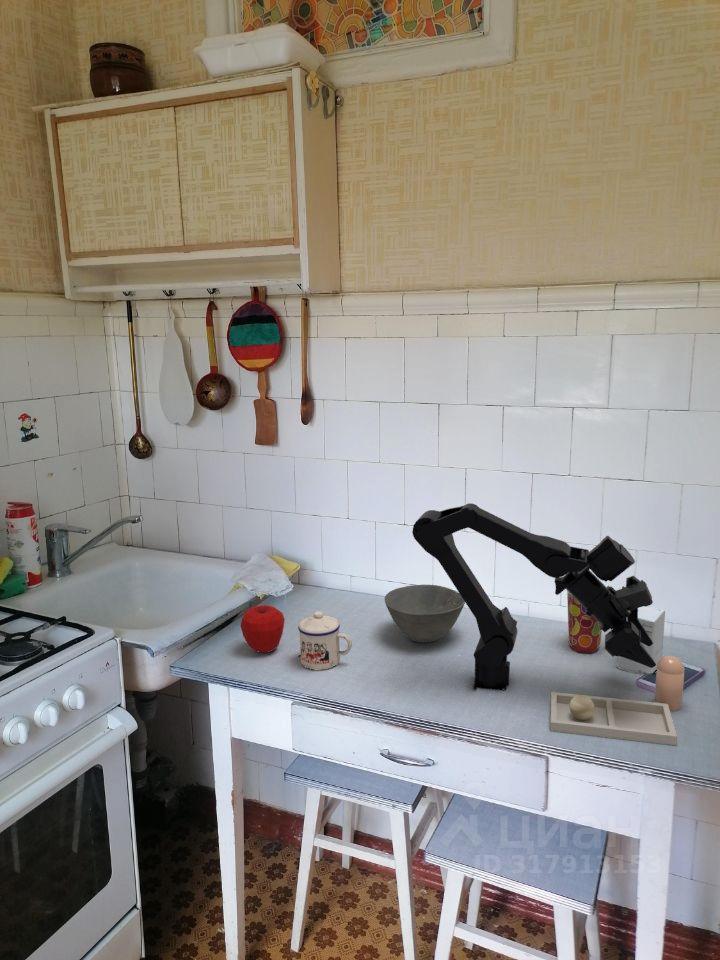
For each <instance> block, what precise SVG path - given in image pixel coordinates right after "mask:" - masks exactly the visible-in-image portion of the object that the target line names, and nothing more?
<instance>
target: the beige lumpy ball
mask: <svg viewBox="0 0 720 960" xmlns="http://www.w3.org/2000/svg"><path fill="white" fill-rule="evenodd" d="M585 695H586V694H577V696H575V697H574V698H572V700H571V702H570V711H571V713H572V715H573V716H574V717H576V718H577V719H580V720H586V719H589V718H590V717H591V716H592V715H593V713H594V704H593V702H592V700H591V699H590V698H589V697H587V696H588V695H587V696H585Z"/></svg>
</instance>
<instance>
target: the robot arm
mask: <svg viewBox="0 0 720 960" xmlns="http://www.w3.org/2000/svg"><path fill="white" fill-rule="evenodd" d="M466 529H471V530H473V531H475V532H477V533H479V534H481V535H482V536H485V537H487V538H488V539H491V540H493V541H494V542H497V543H499V544H501V545H503V546H505V547H506V548H508V549H511V550H513V551H515V552H516V553H519V554H521V555H522V556H523V557H525V558H526V559H527V561H529V562H530V563H531V564H532V565H533V566H534V567H535V568H537V569H538V570H540V571H541V572H542V573H544V575H547V576H548V577H550V578H554V580H553V581H554V585H555V591H554V594H555V595H556V596H558V595H560V594H561V593H563V592H564V591H565V590H566V592H567V591H568V592H569V593H570V594H571V595H572V596H573V597H574V598H575V599H576V600H577V601H578V602H579V603H580V604H581V605H582V606H583V607H584V608H585V609H586V610H585V613H586V614H587V615H588V616H591V615H592V616H593V617H594V618H595V619H596V620H597V621H598V622H599V623H600V624H601V629H602V632H604V633H605V636H604V650H605V651H606V652H607V653H608V654H609V655H610V656H611V657H612V658H613V657H616V658H618V656H620V657H623V658H626V659H629V660H632V661H635V662H637V663H640V664H643V665H645V666H648V667H650V668H653V667H654V666H656V663H655V661H654V660H653V659H652V657H651V656H650V654H649V653H648V652H647V650H646V649H645V648H644V646H643V645H642V644H641V643H643V644H645V645H647V646H651V645H652V644H653V642H652V640H651V638H650V637H649V635H648V633H647V632H646V630H645V629H644V627H643V625H642V624H641V622H640V620H639V619H638V608H640V607H643V606H645V607H646V606H648V607H650V606H651V605H652V604H653V602H654V601H653V596H652V594H651V592H650V589H649V587H648V585H647V583H646V581H644V580H643V579H641V580H639V579H638V578H637V577H636V576H635V575H631V576H628V577H626V578H625V579H626V581H625V582H626V583H625V585H623V586H621V588H620V589H615V588H614V587H613V586H609V585H608V586H606V585H605V584H604V583H603V582H602V581H604V582H605V583H607V581H609V582H612V581H614V580H615V579H616V578H618V577H619V576H620V575H621V574H623V573H624V572H626V570H628V569H629V568H630V567H632V565H634V564H635V563H636V561H635V559H634V557H633V555H631V552H630V551H628V550H627V548H626V547H625V546H624V545H623V544H622V543H619V542H618V541H617V540H615V539H613V538H611V537H610V536H609V535H606V536H605V537H603V539H602V540H600V543H598V544H597V545H596V546H595V547H593V548H592V549H591V550H589V549H586V548H581V547H575V546H570V544H568V543H567V542H566V541H564V540H560V539H557V538H554V537H550V536H547V535H540V534H534V533H531V532H529V531H527V530H526V529H523V528H521V527H519V526H517V525H515V524H513V523H511V522H509V521H507V520H505V519H503V518H501V517H499V516H496V515H495V514H493V513H491V512H489V511H487V510H485V509H483V508H481V507H479V506H478V505H477V504H474V503H472V502H471V503H470V502H469V503H466V504H464V505H461V506H455V507H451V508H446V509H444V510H441V511H439V510H436V509H435V510H434V509H432V510H431V509H430V510H429V509H428V510H427V511H425V512H424V513H423V514H421V516H420V517H419V518H417V520H415V522H414V524H413V526H412V536H413V538H414V540H415V541H416V542H417V543H418V545H419V546H420V547H421V548H422V549H423V550H424V552H426V553H427V554H429V555H430V556H432V557H433V558H434V559H436V560H437V561H438V562H439V564H440V565H441V567H442V568H443V570H444V572H445V573H446V575H447V576H448V578H449V579H450V581H451V583H452V584H453V586H454V587H455V588H456V590H457V592H458V593H460V595H461V596H462V598H463V599H464V601H465V604H466V605H467V607H468V608H469V610H470V611H471V613H472V615H473V616H474V618H475V621H476V624H477V628H478V632H479V635H480V637H479V640H478V642H477V644H476V647H475V650H474V653H473V658H474V682H473V687H472V688H473V689H474V690H477V689H482V690H483V689H486V690H495V691H506V690H507V687H508V686H509V685H510V680H511V679H510V677H511V676H510V675H511V673H510V672H511V662H510V661H509V660H508V656H509V655H510V654H511V653H512V652H513V651H514V647H515V644H516V640H517V636H518V628H517V625H518V621H517V620H516V619H515V618H514V617H513V616H512V614H511V612H510V610H509V608H508V607H507V606H505V607H504V608H502V609H500V608H499V607H497V606H496V605H494V603H493V602H492V600H491V599H490V597H489V596H488V594H487V593H486V591H485V589H484V588H483V587H482V585H481V583H480V581H479V580H478V578H476V575H475V574H474V572H473V571H472V569H471V568H470V566H469V565H468V564H467V562H466V560H465V559H464V557H463V556H462V554H461V553H460V551H459V549H458V548H457V546H456V543H455V538H454V536H453V534H455V533H457V532H459V531H461V530H466ZM609 630H610V631H609ZM607 631H608V632H607ZM606 632H607V633H606Z"/></svg>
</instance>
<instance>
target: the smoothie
mask: <svg viewBox="0 0 720 960" xmlns="http://www.w3.org/2000/svg"><path fill="white" fill-rule="evenodd" d="M566 592H567V593H566V595H567V597H566V599H567V624H568V625H567V630H568V643H569V644H570V647H571V649H572V650H574V651H576V652H578V653H583V654H584V653H585V654H588V653H589V654H590V653H594V652H597V651H598V649H599V646H601V639H602V633H603V630H602V629H601V624H600V623H599V622H598V621H597V620H596V619H595V618H594V617H593V616H592V615H591V616H588V615H587V614H586V613H585V610H586V609H585V608H584V607H583V606H582V605H581V604H580V603H579V602H578V601H577V600H576V599H575V598H574V597H573V596H572V595H571V594H570V593H569V592H568V591H567V590H566Z"/></svg>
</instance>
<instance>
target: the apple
mask: <svg viewBox="0 0 720 960" xmlns="http://www.w3.org/2000/svg"><path fill="white" fill-rule="evenodd" d="M284 625H285V616H284V613H283V612H281V611H280V610H279V609H278V608H276V607H275V606H272V605H267V604H264V605H263V604H262V605H256V606H253V607H249V608H248V609H247V610H246V611H245V612H244V613H243V614H242V617H241V622H240V629H241V632H242V637H243V638H244V640H245V641H246V645H248V647H249V648H250V649H251V650H254V651H255V652H257V651H259V652H258V653H260V652H267V653H269V652H268V651H270V652H272V651H274V650H275V649H277V647H278V646H279V644H280V642H281V640H282V635H283V632H284V627H285V626H284ZM273 649H274V650H273ZM271 650H272V651H271Z"/></svg>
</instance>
